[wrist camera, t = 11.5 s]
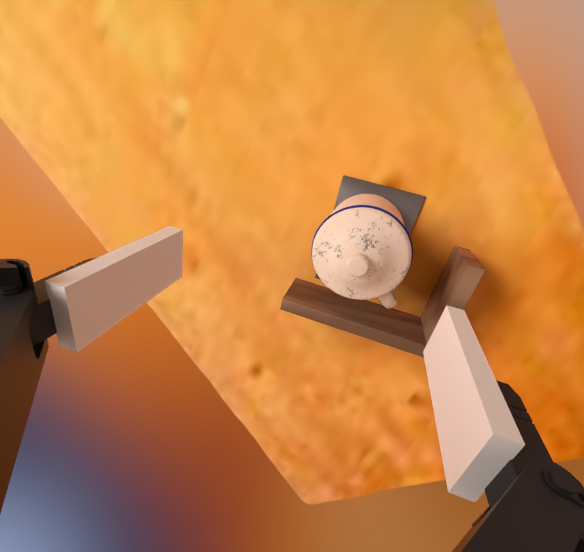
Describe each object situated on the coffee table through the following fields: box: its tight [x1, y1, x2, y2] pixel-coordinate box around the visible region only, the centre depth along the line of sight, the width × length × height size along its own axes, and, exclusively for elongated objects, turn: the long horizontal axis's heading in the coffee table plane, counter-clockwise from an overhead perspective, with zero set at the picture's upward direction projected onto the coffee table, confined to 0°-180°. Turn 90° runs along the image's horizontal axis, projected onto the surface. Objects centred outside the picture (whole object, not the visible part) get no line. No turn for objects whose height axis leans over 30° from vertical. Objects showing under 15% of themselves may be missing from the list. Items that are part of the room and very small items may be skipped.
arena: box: [280, 176, 485, 357], centre depth 34 cm, size 16×18×6 cm
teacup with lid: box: [311, 194, 413, 308], centre depth 31 cm, size 12×9×12 cm
